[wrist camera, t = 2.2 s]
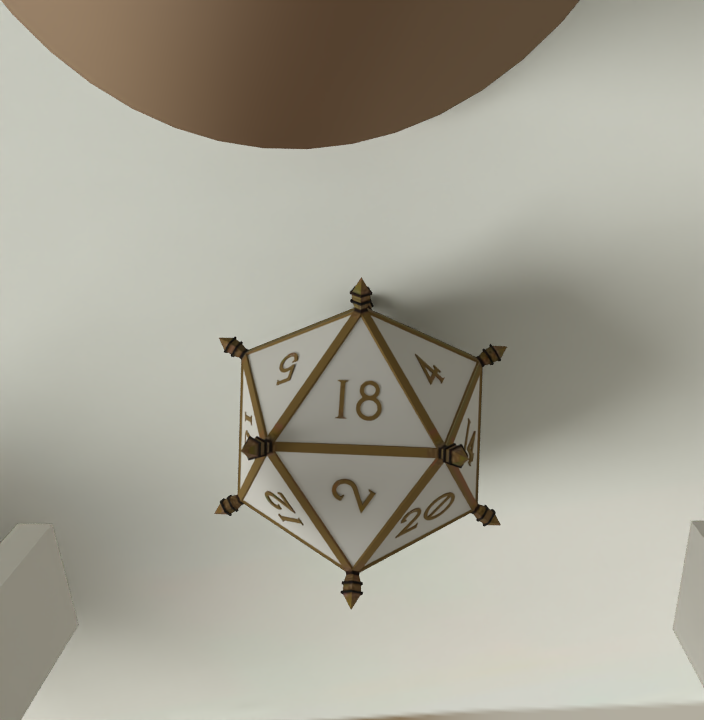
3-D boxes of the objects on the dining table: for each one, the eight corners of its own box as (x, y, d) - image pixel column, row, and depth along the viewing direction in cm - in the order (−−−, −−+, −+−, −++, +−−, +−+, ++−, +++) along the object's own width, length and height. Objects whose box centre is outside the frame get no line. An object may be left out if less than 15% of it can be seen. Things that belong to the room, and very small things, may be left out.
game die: (396, 303, 26) (608, 286, 17) (389, 516, 26) (595, 610, 17) (168, 287, 21) (295, 253, 12) (162, 544, 21) (282, 689, 13)
